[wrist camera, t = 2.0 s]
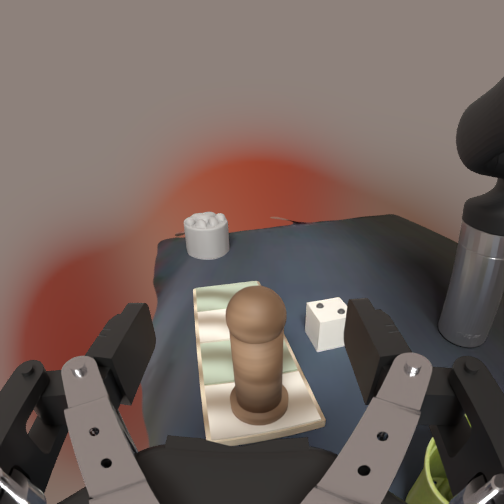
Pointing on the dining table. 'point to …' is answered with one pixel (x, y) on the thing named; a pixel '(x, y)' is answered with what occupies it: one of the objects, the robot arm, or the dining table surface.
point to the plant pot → (431, 480)
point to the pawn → (257, 355)
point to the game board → (222, 380)
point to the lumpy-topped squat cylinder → (206, 235)
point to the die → (326, 323)
